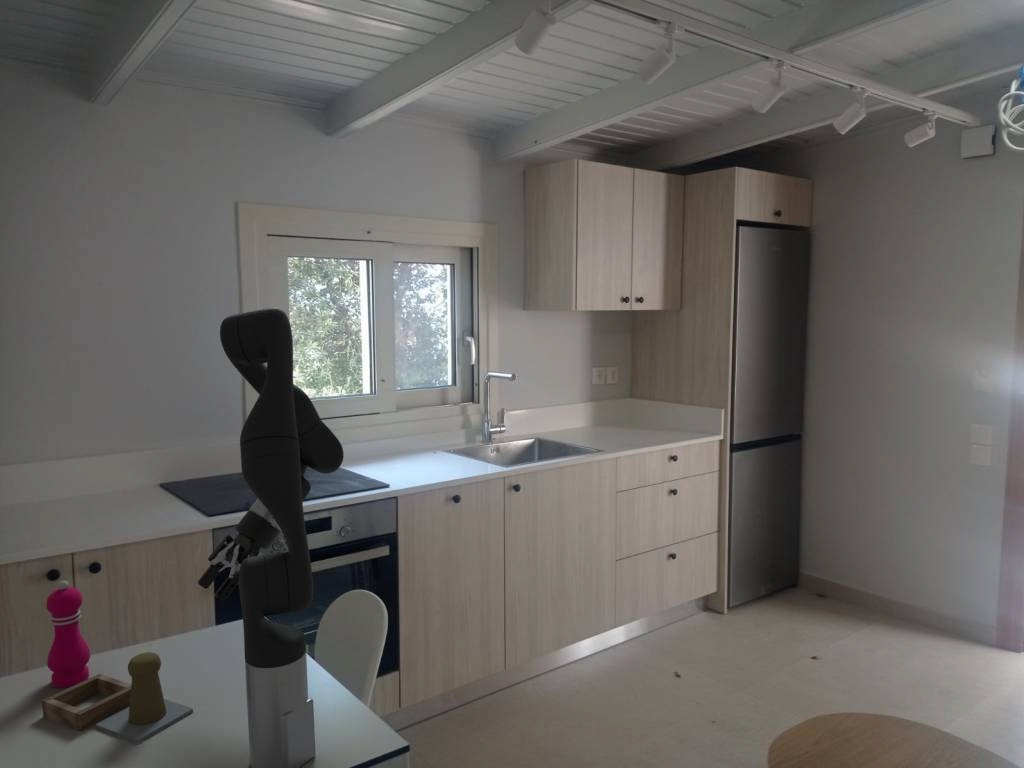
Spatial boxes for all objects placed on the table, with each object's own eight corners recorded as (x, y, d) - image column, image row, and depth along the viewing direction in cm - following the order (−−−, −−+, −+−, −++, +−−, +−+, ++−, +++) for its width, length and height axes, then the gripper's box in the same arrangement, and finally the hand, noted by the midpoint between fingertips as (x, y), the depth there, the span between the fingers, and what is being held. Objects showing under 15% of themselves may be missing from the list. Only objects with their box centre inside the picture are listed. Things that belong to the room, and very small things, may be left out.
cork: (151, 727, 128) (147, 665, 127) (120, 723, 129) (116, 662, 128) (174, 708, 134) (170, 649, 133) (144, 705, 135) (140, 646, 134)
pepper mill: (54, 674, 149) (47, 576, 147) (95, 668, 151) (88, 572, 149) (44, 692, 142) (35, 589, 140) (87, 685, 144) (79, 585, 142)
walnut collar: (137, 701, 138) (136, 686, 137) (81, 731, 128) (79, 714, 128) (100, 688, 143) (99, 673, 142) (43, 716, 133) (41, 700, 133)
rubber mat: (193, 711, 134) (192, 708, 134) (137, 743, 124) (137, 740, 124) (152, 697, 139) (151, 694, 139) (95, 727, 129) (95, 724, 129)
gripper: (237, 502, 149) (180, 572, 142) (268, 515, 138) (209, 592, 132) (264, 522, 153) (210, 592, 146) (296, 537, 142) (240, 613, 136)
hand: (210, 592), depth 139 cm, fingers open, 8 cm apart
